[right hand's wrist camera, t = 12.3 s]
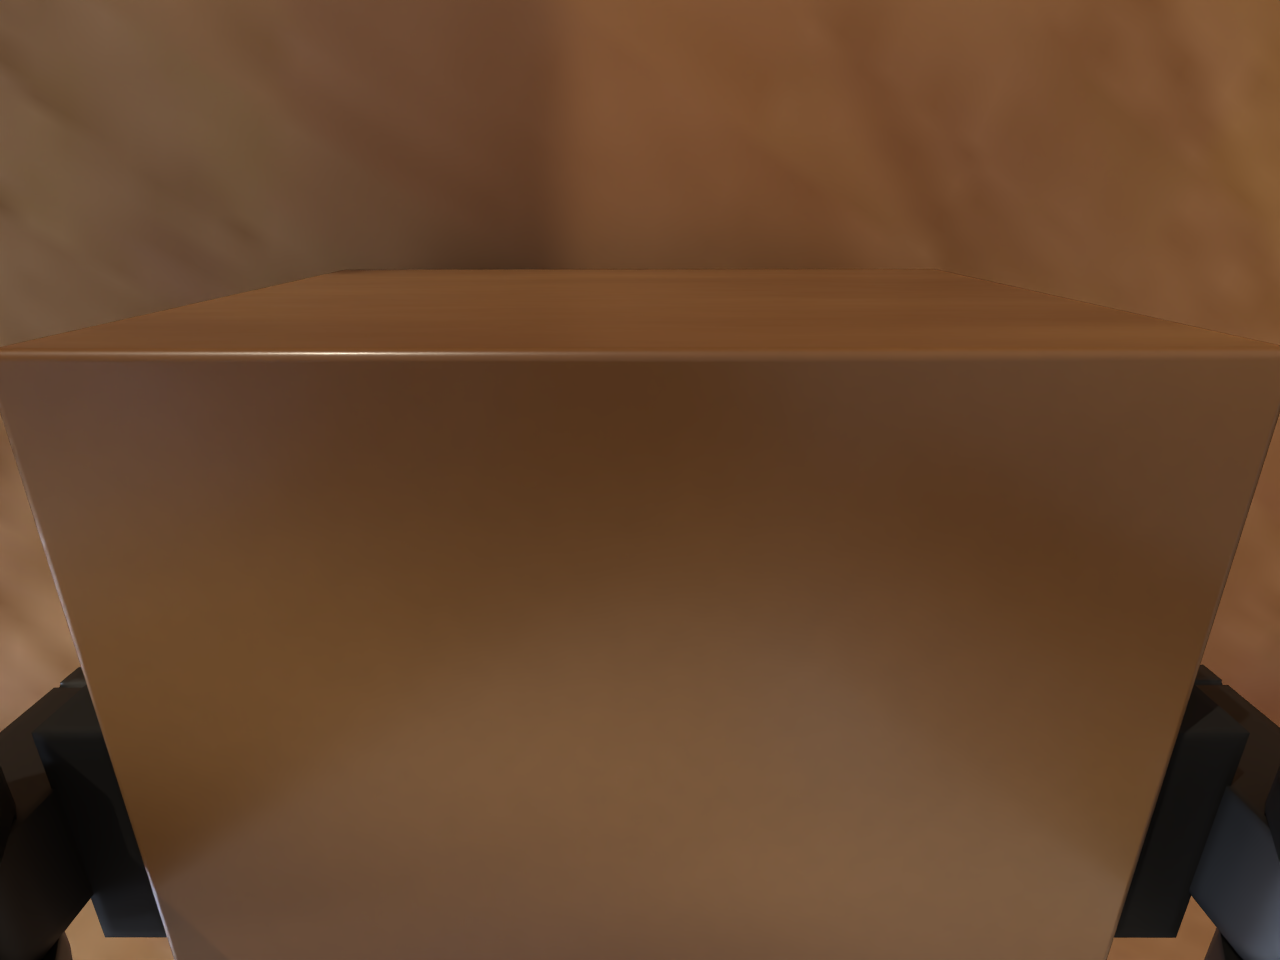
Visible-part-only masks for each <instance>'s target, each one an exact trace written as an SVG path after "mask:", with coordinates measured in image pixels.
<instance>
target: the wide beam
mask: <svg viewBox="0 0 1280 960" xmlns="http://www.w3.org/2000/svg"><path fill="white" fill-rule="evenodd" d="M0 413H1V416H2V420H3V423H4V426H5V429H6V432H7V435H8V438H9V442H10V445H11V448H12V451H13V454H14V457H15V460H16V464H17V467H18V470H19V473H20V476H21V479H22V482H23V486H24V489H25V492H26V495H27V498H28V501H29V504H30V508H31V511H32V514H33V517H34V520H35V523H36V526H37V530H38V533H39V536H40V539H41V542H42V545H43V548H44V552H45V555H46V558H47V561H48V564H49V567H50V570H51V574H52V577H53V580H54V583H55V586H56V589H57V592H58V596H59V599H60V602H61V605H62V608H63V611H64V614H65V618H66V621H67V624H68V627H69V630H70V633H71V636H72V640H73V643H74V646H75V649H76V652H77V655H78V658H79V662H80V665H81V668H82V671H83V674H84V677H85V680H86V684H87V687H88V690H89V693H90V696H91V699H92V702H93V706H94V709H95V712H96V715H97V718H98V721H99V724H100V728H101V731H102V734H103V737H104V740H105V743H106V746H107V750H108V753H109V756H110V759H111V762H112V765H113V768H114V772H115V775H116V778H117V781H118V784H119V787H120V790H121V794H122V797H123V800H124V803H125V806H126V809H127V812H128V816H129V819H130V822H131V825H132V828H133V831H134V834H135V838H136V841H137V844H138V847H139V850H140V853H141V856H142V860H143V863H144V866H145V869H146V872H147V875H148V878H149V882H150V885H151V888H152V891H153V894H154V897H155V900H156V904H157V907H158V910H159V913H160V916H161V919H162V922H163V926H164V929H165V932H166V935H167V938H168V941H169V944H170V948H171V951H172V954H173V957H174V960H1107V957H1108V954H1109V951H1110V948H1111V945H1112V941H1113V938H1114V935H1115V932H1116V929H1117V926H1118V922H1119V919H1120V916H1121V913H1122V910H1123V907H1124V903H1125V900H1126V897H1127V894H1128V891H1129V888H1130V884H1131V881H1132V878H1133V875H1134V872H1135V869H1136V865H1137V862H1138V859H1139V856H1140V853H1141V850H1142V846H1143V843H1144V840H1145V837H1146V834H1147V831H1148V828H1149V824H1150V821H1151V818H1152V815H1153V812H1154V809H1155V805H1156V802H1157V799H1158V796H1159V793H1160V790H1161V786H1162V783H1163V780H1164V777H1165V774H1166V771H1167V767H1168V764H1169V761H1170V758H1171V755H1172V752H1173V748H1174V745H1175V742H1176V739H1177V736H1178V733H1179V729H1180V726H1181V723H1182V720H1183V717H1184V714H1185V710H1186V707H1187V704H1188V701H1189V698H1190V695H1191V692H1192V688H1193V685H1194V682H1195V679H1196V676H1197V673H1198V669H1199V666H1200V663H1201V660H1202V657H1203V654H1204V650H1205V647H1206V644H1207V641H1208V638H1209V635H1210V631H1211V628H1212V625H1213V622H1214V619H1215V616H1216V612H1217V609H1218V606H1219V603H1220V600H1221V597H1222V593H1223V590H1224V587H1225V584H1226V581H1227V578H1228V574H1229V571H1230V568H1231V565H1232V562H1233V559H1234V556H1235V552H1236V549H1237V546H1238V543H1239V540H1240V537H1241V533H1242V530H1243V527H1244V524H1245V521H1246V518H1247V514H1248V511H1249V508H1250V505H1251V502H1252V499H1253V495H1254V492H1255V489H1256V486H1257V483H1258V480H1259V476H1260V473H1261V470H1262V467H1263V464H1264V461H1265V457H1266V454H1267V451H1268V448H1269V445H1270V442H1271V439H1272V435H1273V432H1274V429H1275V426H1276V423H1277V420H1278V416H1279V413H1280V345H1275V344H1271V343H1266V342H1262V341H1257V340H1253V339H1248V338H1244V337H1239V336H1234V335H1230V334H1225V333H1221V332H1216V331H1212V330H1207V329H1203V328H1198V327H1194V326H1189V325H1185V324H1180V323H1176V322H1171V321H1167V320H1162V319H1158V318H1153V317H1149V316H1144V315H1140V314H1135V313H1131V312H1126V311H1122V310H1117V309H1113V308H1108V307H1104V306H1099V305H1094V304H1090V303H1085V302H1081V301H1076V300H1072V299H1067V298H1063V297H1058V296H1054V295H1049V294H1045V293H1040V292H1036V291H1031V290H1027V289H1022V288H1018V287H1013V286H1009V285H1004V284H1000V283H995V282H991V281H986V280H982V279H977V278H973V277H968V276H964V275H959V274H955V273H950V272H945V271H941V270H936V269H518V270H341V271H337V272H333V273H328V274H324V275H319V276H315V277H310V278H306V279H301V280H297V281H292V282H288V283H283V284H279V285H275V286H270V287H266V288H261V289H257V290H252V291H248V292H243V293H239V294H234V295H230V296H226V297H221V298H217V299H212V300H208V301H203V302H199V303H194V304H190V305H185V306H181V307H177V308H172V309H168V310H163V311H159V312H154V313H150V314H145V315H141V316H136V317H132V318H127V319H123V320H119V321H114V322H110V323H105V324H101V325H96V326H92V327H87V328H83V329H78V330H74V331H70V332H65V333H61V334H56V335H52V336H47V337H43V338H38V339H34V340H29V341H25V342H20V343H16V344H12V345H7V346H3V347H0Z"/></svg>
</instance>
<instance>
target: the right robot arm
mask: <svg viewBox="0 0 1280 960" xmlns="http://www.w3.org/2000/svg"><path fill="white" fill-rule="evenodd" d="M1191 895H1192V897H1193V898H1194V899H1195V901H1196V902H1197V903H1198V904H1199V906H1200V907H1201V908H1202V909H1203V911H1204V912H1205V913H1206V914H1207V916H1208V917H1209V918H1210V919H1211V921H1212V922H1213V923H1214V924H1215V926H1216V927H1217V928H1216V931H1215V933H1214V936H1213V938H1212V941H1211V944H1210V946H1209V949H1208V951H1207V954H1206V957H1205V959H1204V960H1280V728H1279V727H1278V726H1277V725H1276V724H1275V723H1273V722H1272V721H1271V720H1270V719H1268V718H1267V717H1266V716H1265V715H1264V714H1262V713H1261V712H1260V711H1259V710H1258V709H1256V708H1255V707H1254V706H1253V705H1251V704H1250V703H1249V702H1248V701H1247V700H1245V699H1244V698H1243V697H1242V696H1241V695H1239V694H1238V693H1237V692H1236V691H1234V690H1233V689H1232V688H1231V687H1230V686H1228V685H1222V680H1221V679H1220V678H1219V677H1217V676H1216V675H1215V674H1214V673H1213V672H1211V671H1210V670H1209V669H1208V668H1207V667H1205V666H1204V665H1200V666H1199V669H1198V673H1197V676H1196V679H1195V682H1194V685H1193V688H1192V692H1191V695H1190V698H1189V701H1188V704H1187V707H1186V710H1185V714H1184V717H1183V720H1182V723H1181V726H1180V729H1179V733H1178V736H1177V739H1176V742H1175V745H1174V748H1173V752H1172V755H1171V758H1170V761H1169V764H1168V767H1167V771H1166V774H1165V777H1164V780H1163V783H1162V786H1161V790H1160V793H1159V796H1158V799H1157V802H1156V805H1155V809H1154V812H1153V815H1152V818H1151V821H1150V824H1149V828H1148V831H1147V834H1146V837H1145V840H1144V843H1143V846H1142V850H1141V853H1140V856H1139V859H1138V862H1137V865H1136V869H1135V872H1134V875H1133V878H1132V881H1131V884H1130V888H1129V891H1128V894H1127V897H1126V900H1125V903H1124V907H1123V910H1122V913H1121V916H1120V919H1119V922H1118V926H1117V929H1116V932H1115V935H1114V937H1141V938H1176V936H1177V933H1178V930H1179V928H1180V925H1181V922H1182V919H1183V916H1184V914H1185V911H1186V908H1187V905H1188V903H1189V900H1190V897H1191ZM90 898H91V899H92V902H93V905H94V908H95V910H96V913H97V916H98V919H99V922H100V924H101V927H102V930H103V933H104V935H105V937H167V935H166V932H165V929H164V926H163V922H162V919H161V916H160V913H159V910H158V907H157V904H156V900H155V897H154V894H153V891H152V888H151V885H150V882H149V878H148V875H147V872H146V869H145V866H144V863H143V860H142V856H141V853H140V850H139V847H138V844H137V841H136V838H135V834H134V831H133V828H132V825H131V822H130V819H129V816H128V812H127V809H126V806H125V803H124V800H123V797H122V794H121V790H120V787H119V784H118V781H117V778H116V775H115V772H114V768H113V765H112V762H111V759H110V756H109V753H108V750H107V746H106V743H105V740H104V737H103V734H102V731H101V728H100V724H99V721H98V718H97V715H96V712H95V709H94V706H93V702H92V699H91V696H90V693H89V690H88V687H87V684H86V680H85V677H84V674H83V671H82V668H81V667H78V668H77V669H76V670H75V671H74V672H72V673H71V674H70V675H69V676H68V677H66V678H65V679H64V680H63V681H62V682H60V687H59V688H53V689H52V690H51V691H50V692H48V693H47V694H46V695H45V696H44V697H42V698H41V699H40V700H39V701H38V702H36V703H35V704H34V705H33V706H32V707H30V708H29V709H28V710H27V711H25V712H24V713H23V714H22V715H21V716H19V717H18V718H17V719H16V720H15V721H13V722H12V723H11V724H10V725H9V726H7V727H6V728H5V729H4V730H3V731H1V732H0V960H72V954H71V948H70V944H69V941H68V938H67V936H66V933H65V930H66V929H67V927H68V926H69V925H70V924H71V922H72V921H73V920H74V918H75V917H76V916H77V915H78V913H79V912H80V911H81V910H82V908H83V907H84V906H85V904H86V903H87V902H88V901H89V899H90Z"/></svg>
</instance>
